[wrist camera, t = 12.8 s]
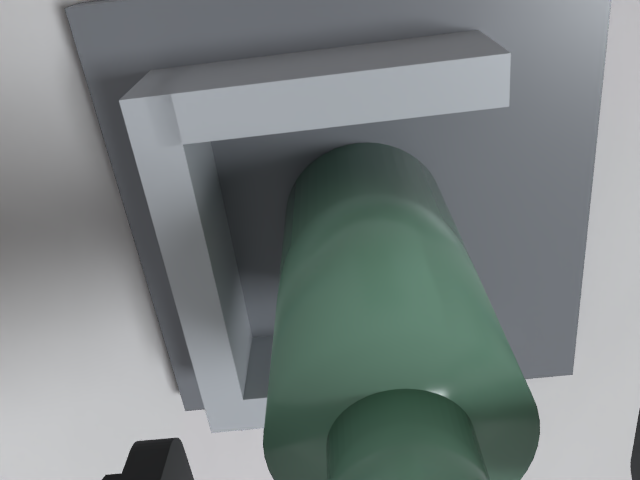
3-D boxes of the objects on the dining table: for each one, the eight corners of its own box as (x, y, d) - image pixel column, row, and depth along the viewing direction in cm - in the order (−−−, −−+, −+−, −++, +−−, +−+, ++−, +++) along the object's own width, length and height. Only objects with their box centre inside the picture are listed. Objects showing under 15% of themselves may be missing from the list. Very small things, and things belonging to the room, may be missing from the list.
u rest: (600, -65, 16) (683, -59, 12) (562, 356, 22) (608, 439, 19) (78, 3, 16) (13, 27, 13) (190, 392, 23) (167, 478, 20)
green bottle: (441, 133, 17) (620, 446, 7) (444, 275, 19) (583, 667, 9) (274, 152, 17) (217, 481, 7) (297, 291, 20) (277, 688, 10)
